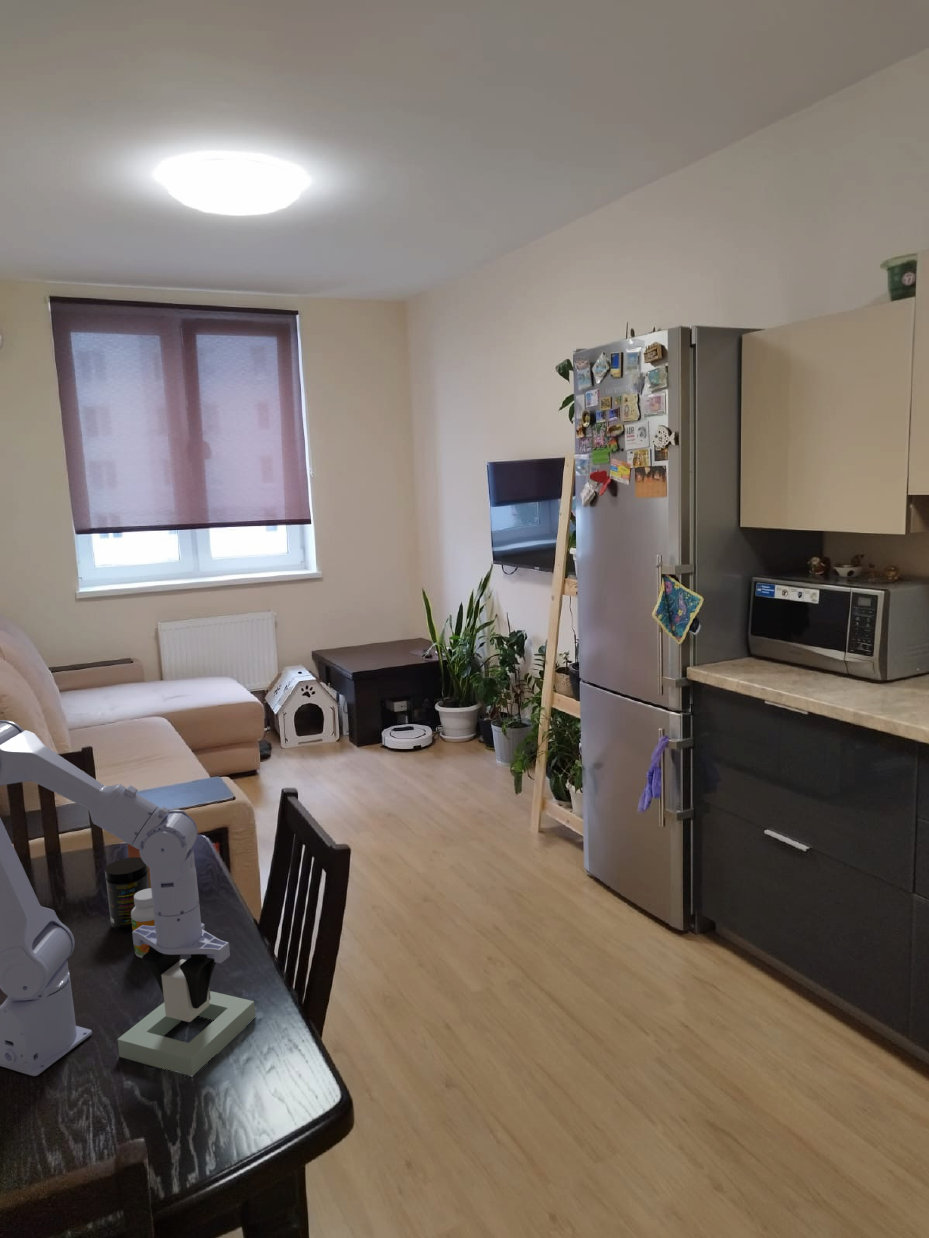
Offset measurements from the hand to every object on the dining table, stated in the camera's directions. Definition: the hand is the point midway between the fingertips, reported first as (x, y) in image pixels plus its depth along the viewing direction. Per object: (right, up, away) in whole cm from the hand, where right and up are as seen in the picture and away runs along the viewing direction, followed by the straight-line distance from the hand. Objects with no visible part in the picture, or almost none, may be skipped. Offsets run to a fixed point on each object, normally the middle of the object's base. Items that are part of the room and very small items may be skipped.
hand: (186, 1000), depth 116 cm
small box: (-20, +1, +46) cm, 50 cm away
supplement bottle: (-13, -2, +24) cm, 27 cm away
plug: (0, -1, 0) cm, 2 cm away
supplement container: (-20, -1, +33) cm, 38 cm away
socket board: (0, -5, +1) cm, 5 cm away
